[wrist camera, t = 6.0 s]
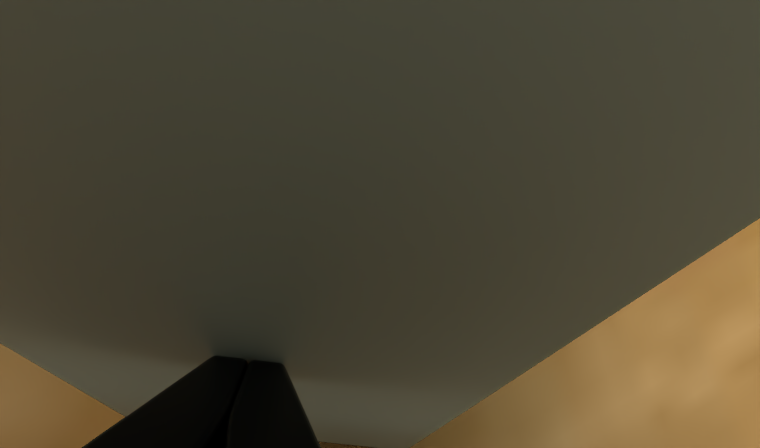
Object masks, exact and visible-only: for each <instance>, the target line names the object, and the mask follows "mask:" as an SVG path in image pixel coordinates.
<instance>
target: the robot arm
mask: <svg viewBox="0 0 760 448" xmlns="http://www.w3.org/2000/svg"><path fill="white" fill-rule="evenodd" d="M82 448H321V447H320V444H319V442H318V440H317V437H316V435H315V433H314V431H313V428H312V426H311V424H310V422H309V419H308V417H307V415H306V413H305V410H304V408H303V406H302V404H301V401H300V399H299V397H298V394H297V392H296V390H295V388H294V385H293V383H292V381H291V379H290V376H289V374H288V372H287V370H286V368H285V366H284V365H283V364H282V363H276V362H268V361H260V360H252V361H250V362H249V363H247V361H246V360H245V359H242V358H234V357H225V356H212V357H210V358H209V359H207V360H206V361H205V362H203V363H202V364H200V365H199V366H197V367H196V368H195V369H193V370H192V371H190V372H189V373H187V374H186V375H185V376H183V377H182V378H180V379H179V380H177V381H176V382H175V383H173V384H172V385H170V386H169V387H167V388H166V389H165V390H163V391H162V392H160V393H159V394H157V395H156V396H155V397H153V398H152V399H150V400H149V401H148V402H146V403H145V404H143V405H142V406H140V407H139V408H138V409H136V410H135V411H133V412H132V413H130V414H129V415H128V416H126V417H125V418H123V419H122V420H120V421H119V422H118V423H116V424H115V425H113V426H112V427H110V428H109V429H108V430H106V431H105V432H103V433H102V434H100V435H99V436H98V437H96V438H95V439H93V440H92V441H90V442H89V443H88V444H86V445H85V446H83V447H82Z"/></svg>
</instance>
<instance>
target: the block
mask: <svg viewBox="0 0 760 448" xmlns="http://www.w3.org/2000/svg"><path fill="white" fill-rule="evenodd" d="M759 218H760V0H0V343H1V344H3V345H4V346H6V347H8V348H9V349H11V350H13V351H14V352H16V353H18V354H20V355H21V356H23V357H25V358H26V359H28V360H30V361H31V362H33V363H35V364H37V365H38V366H40V367H42V368H43V369H45V370H47V371H48V372H50V373H52V374H54V375H55V376H57V377H59V378H60V379H62V380H64V381H66V382H67V383H69V384H71V385H72V386H74V387H76V388H77V389H79V390H81V391H83V392H84V393H86V394H88V395H89V396H91V397H93V398H94V399H96V400H98V401H100V402H101V403H103V404H105V405H106V406H108V407H110V408H112V409H113V410H115V411H117V412H118V413H120V414H122V415H123V416H125V417H126V416H128V415H129V414H130V413H132V412H133V411H135V410H136V409H138V408H139V407H140V406H142V405H143V404H145V403H146V402H148V401H149V400H150V399H152V398H153V397H155V396H156V395H157V394H159V393H160V392H162V391H163V390H165V389H166V388H167V387H169V386H170V385H172V384H173V383H175V382H176V381H177V380H179V379H180V378H182V377H183V376H185V375H186V374H187V373H189V372H190V371H192V370H193V369H195V368H196V367H197V366H199V365H200V364H202V363H203V362H205V361H206V360H207V359H209V358H210V357H212V356H225V357H234V358H242V359H245V360H246V361H247V363H249V362H250V361H252V360H260V361H268V362H276V363H282V364H283V365H284V366H285V368H286V370H287V372H288V374H289V376H290V379H291V381H292V383H293V385H294V388H295V390H296V392H297V394H298V397H299V399H300V401H301V404H302V406H303V408H304V410H305V413H306V415H307V417H308V419H309V422H310V424H311V426H312V428H313V431H314V433H315V435H316V437H317V440H318V441H319V442H328V443H337V444H347V445H356V446H365V447H374V448H410V447H412V446H413V445H415V444H416V443H418V442H419V441H421V440H422V439H424V438H425V437H427V436H428V435H430V434H431V433H433V432H434V431H436V430H437V429H439V428H440V427H442V426H444V425H445V424H447V423H448V422H450V421H451V420H453V419H454V418H456V417H457V416H459V415H460V414H462V413H463V412H465V411H466V410H468V409H469V408H471V407H473V406H474V405H476V404H477V403H479V402H480V401H482V400H483V399H485V398H486V397H488V396H489V395H491V394H492V393H494V392H495V391H497V390H498V389H500V388H501V387H503V386H505V385H506V384H508V383H509V382H511V381H512V380H514V379H515V378H517V377H518V376H520V375H521V374H523V373H524V372H526V371H527V370H529V369H530V368H532V367H533V366H535V365H537V364H538V363H540V362H541V361H543V360H544V359H546V358H547V357H549V356H550V355H552V354H553V353H555V352H556V351H558V350H559V349H561V348H562V347H564V346H565V345H567V344H569V343H570V342H572V341H573V340H575V339H576V338H578V337H579V336H581V335H582V334H584V333H585V332H587V331H588V330H590V329H591V328H593V327H594V326H596V325H597V324H599V323H601V322H602V321H604V320H605V319H607V318H608V317H610V316H611V315H613V314H614V313H616V312H617V311H619V310H620V309H622V308H623V307H625V306H626V305H628V304H630V303H631V302H633V301H634V300H636V299H637V298H639V297H640V296H642V295H643V294H645V293H646V292H648V291H649V290H651V289H652V288H654V287H655V286H657V285H658V284H660V283H662V282H663V281H665V280H666V279H668V278H669V277H671V276H672V275H674V274H675V273H677V272H678V271H680V270H681V269H683V268H684V267H686V266H687V265H689V264H690V263H692V262H694V261H695V260H697V259H698V258H700V257H701V256H703V255H704V254H706V253H707V252H709V251H710V250H712V249H713V248H715V247H716V246H718V245H719V244H721V243H722V242H724V241H726V240H727V239H729V238H730V237H732V236H733V235H735V234H736V233H738V232H739V231H741V230H742V229H744V228H745V227H747V226H748V225H750V224H751V223H753V222H754V221H756V220H758V219H759Z"/></svg>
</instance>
